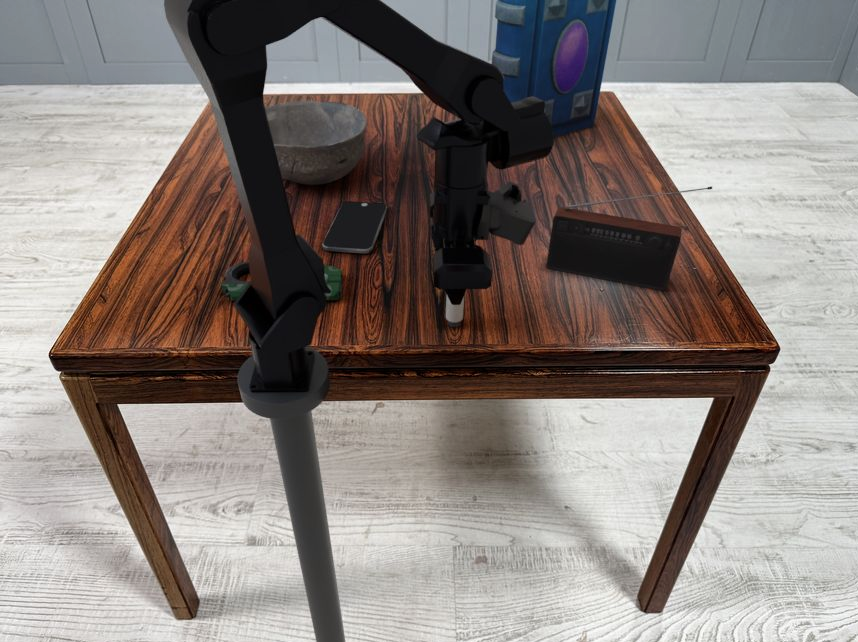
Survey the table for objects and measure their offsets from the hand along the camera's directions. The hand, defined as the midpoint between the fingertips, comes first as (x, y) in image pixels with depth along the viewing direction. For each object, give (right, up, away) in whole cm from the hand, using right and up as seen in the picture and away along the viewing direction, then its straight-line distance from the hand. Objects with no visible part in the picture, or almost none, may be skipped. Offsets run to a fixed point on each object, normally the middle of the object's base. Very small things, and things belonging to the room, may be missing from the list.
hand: (455, 294), depth 81 cm
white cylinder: (0, -3, +3) cm, 4 cm away
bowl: (-24, +24, +36) cm, 49 cm away
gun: (-23, +2, +10) cm, 25 cm away
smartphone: (-14, +12, +22) cm, 29 cm away
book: (+20, +37, +51) cm, 66 cm away
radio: (+23, +3, +11) cm, 26 cm away
